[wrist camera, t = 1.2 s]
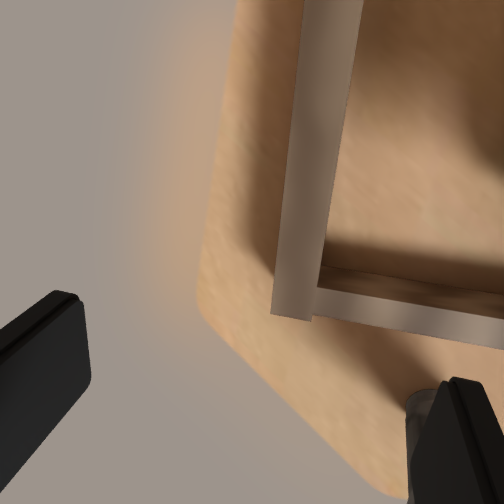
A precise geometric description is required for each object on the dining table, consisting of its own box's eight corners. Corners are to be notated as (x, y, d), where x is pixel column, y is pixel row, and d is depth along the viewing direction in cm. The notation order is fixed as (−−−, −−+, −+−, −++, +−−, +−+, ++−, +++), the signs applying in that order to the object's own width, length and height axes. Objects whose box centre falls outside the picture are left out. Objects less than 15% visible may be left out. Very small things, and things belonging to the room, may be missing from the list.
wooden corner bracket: (709, -34, 21) (803, -62, 17) (539, 328, 32) (570, 370, 27) (319, -46, 25) (312, -71, 21) (280, 283, 35) (270, 313, 31)
